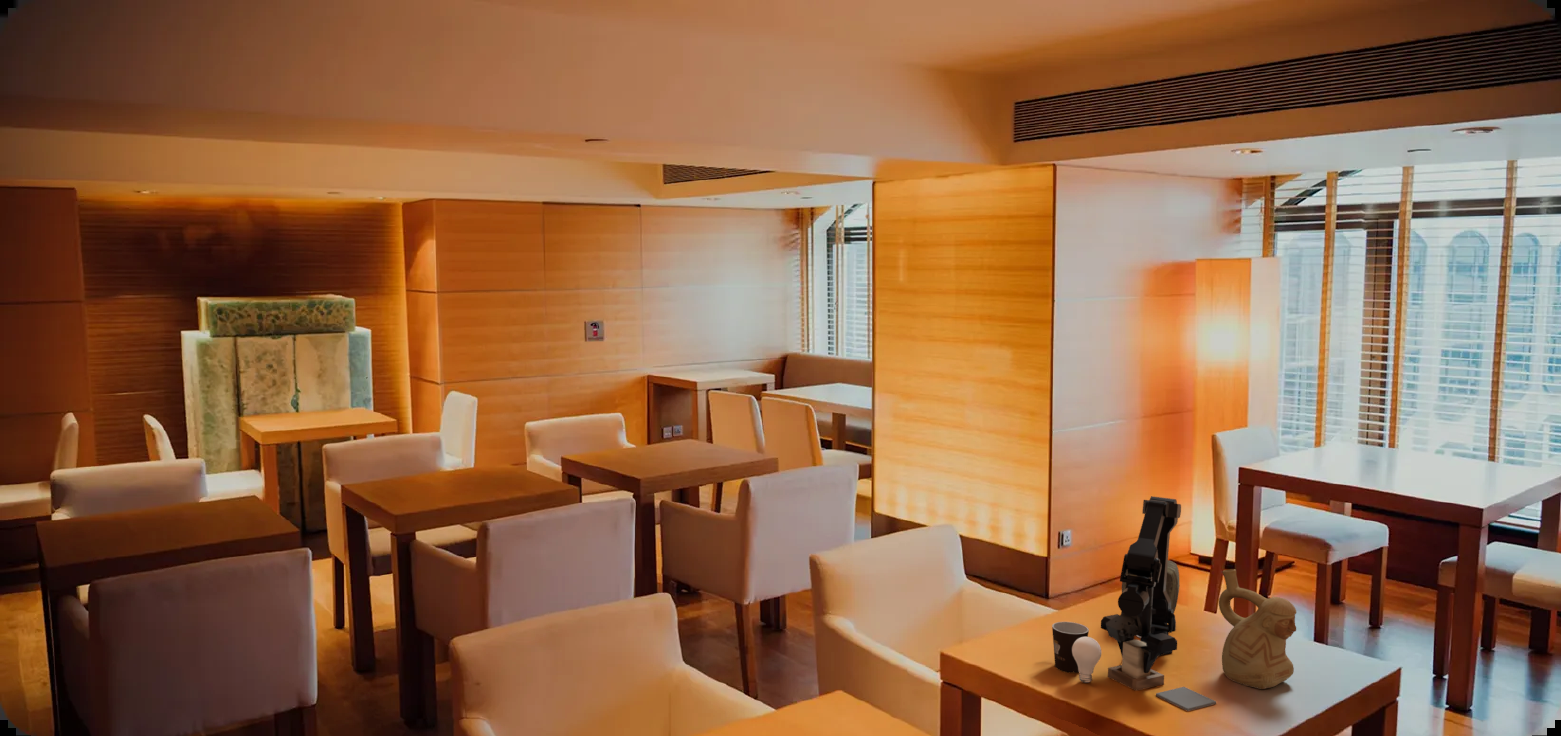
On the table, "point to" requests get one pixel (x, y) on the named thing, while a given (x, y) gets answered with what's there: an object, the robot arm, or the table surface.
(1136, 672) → the maple block
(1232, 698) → the table surface
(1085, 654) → the light bulb
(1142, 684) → the frame
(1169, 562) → the tabletop clock
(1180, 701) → the felt pad
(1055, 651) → the coffee mug
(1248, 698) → the table surface
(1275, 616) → the ceramic vessel
